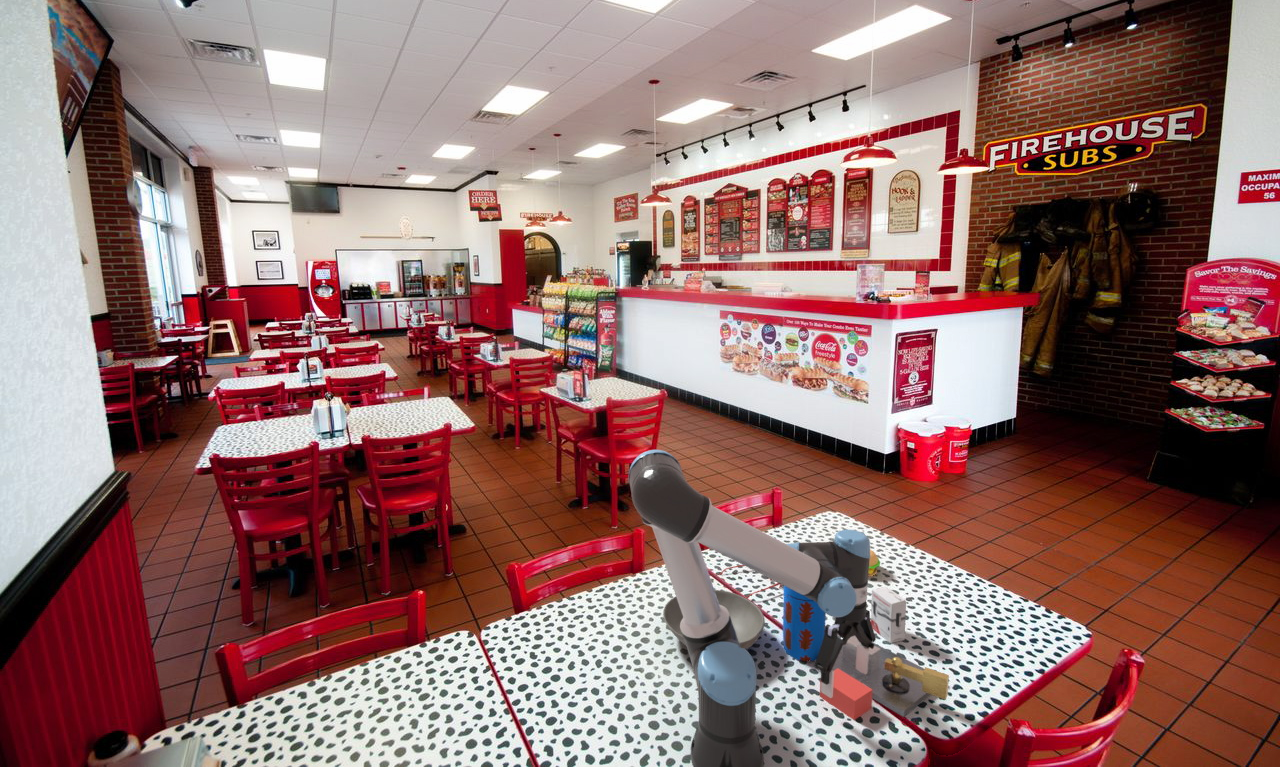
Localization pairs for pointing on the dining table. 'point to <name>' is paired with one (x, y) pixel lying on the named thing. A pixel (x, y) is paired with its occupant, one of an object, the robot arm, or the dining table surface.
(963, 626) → the dining table surface
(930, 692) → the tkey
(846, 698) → the cover
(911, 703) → the panel
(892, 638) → the ink box
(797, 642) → the thermos
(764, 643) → the dining table surface
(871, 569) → the hamburger
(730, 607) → the bowl
